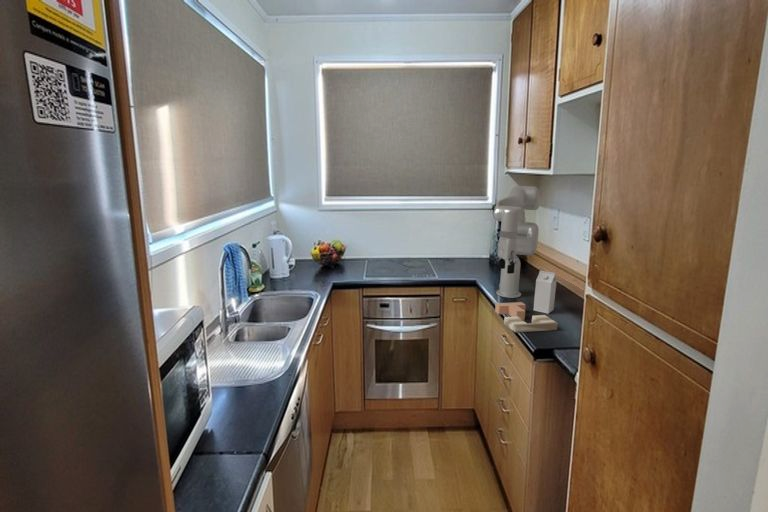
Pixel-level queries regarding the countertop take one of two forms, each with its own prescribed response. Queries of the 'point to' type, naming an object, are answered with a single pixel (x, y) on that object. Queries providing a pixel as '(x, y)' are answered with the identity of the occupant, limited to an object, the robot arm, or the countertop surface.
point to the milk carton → (545, 292)
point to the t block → (511, 309)
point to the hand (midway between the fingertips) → (506, 270)
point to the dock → (531, 324)
